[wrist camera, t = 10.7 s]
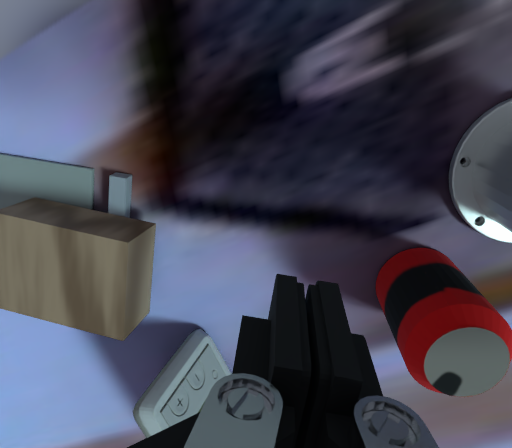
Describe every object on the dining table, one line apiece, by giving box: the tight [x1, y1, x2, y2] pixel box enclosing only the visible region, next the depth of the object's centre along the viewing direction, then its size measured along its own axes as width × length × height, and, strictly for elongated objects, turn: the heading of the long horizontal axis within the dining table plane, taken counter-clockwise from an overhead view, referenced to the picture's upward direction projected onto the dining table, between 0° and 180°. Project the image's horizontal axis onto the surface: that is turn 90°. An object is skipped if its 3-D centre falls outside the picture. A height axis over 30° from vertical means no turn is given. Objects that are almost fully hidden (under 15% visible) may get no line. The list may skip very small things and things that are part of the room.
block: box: [0, 197, 156, 341], centre depth 38 cm, size 5×9×12 cm
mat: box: [0, 153, 94, 210], centre depth 41 cm, size 12×16×1 cm
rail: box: [108, 172, 132, 218], centre depth 41 cm, size 2×16×2 cm, turn 171°
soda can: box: [376, 248, 512, 397], centre depth 35 cm, size 8×8×12 cm
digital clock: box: [133, 329, 231, 438], centre depth 41 cm, size 16×9×11 cm, turn 13°
